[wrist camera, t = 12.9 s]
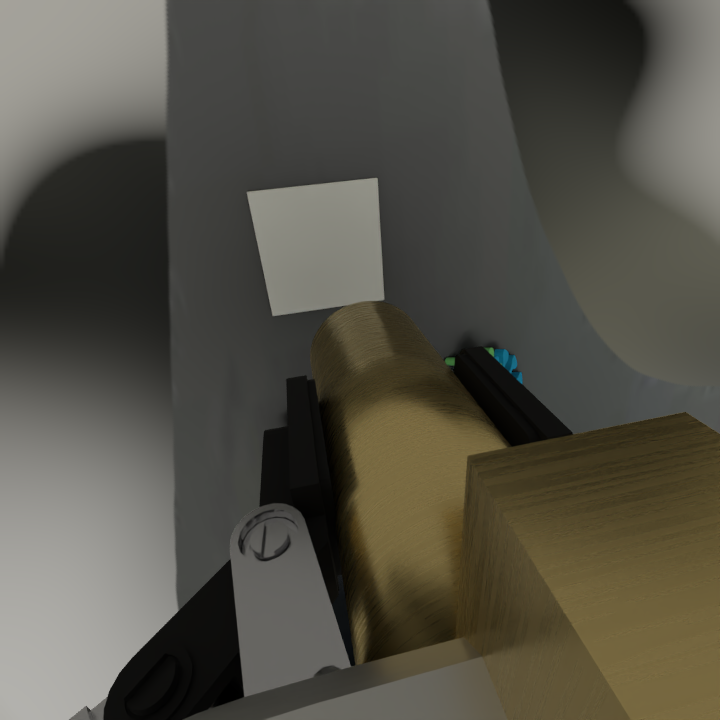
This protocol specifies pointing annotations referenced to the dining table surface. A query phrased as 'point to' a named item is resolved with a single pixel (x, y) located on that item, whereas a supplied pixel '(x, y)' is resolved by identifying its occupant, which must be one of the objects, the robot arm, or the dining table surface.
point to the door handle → (520, 535)
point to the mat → (319, 244)
